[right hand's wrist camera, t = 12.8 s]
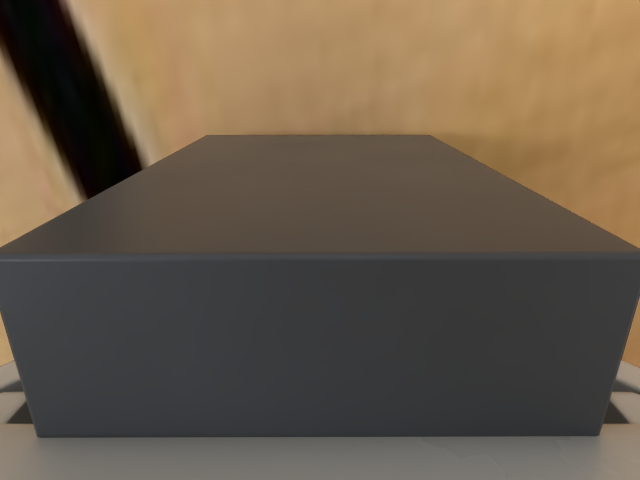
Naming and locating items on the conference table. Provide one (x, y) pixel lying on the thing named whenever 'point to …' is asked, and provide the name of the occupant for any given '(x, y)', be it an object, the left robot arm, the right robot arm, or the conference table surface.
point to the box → (318, 298)
